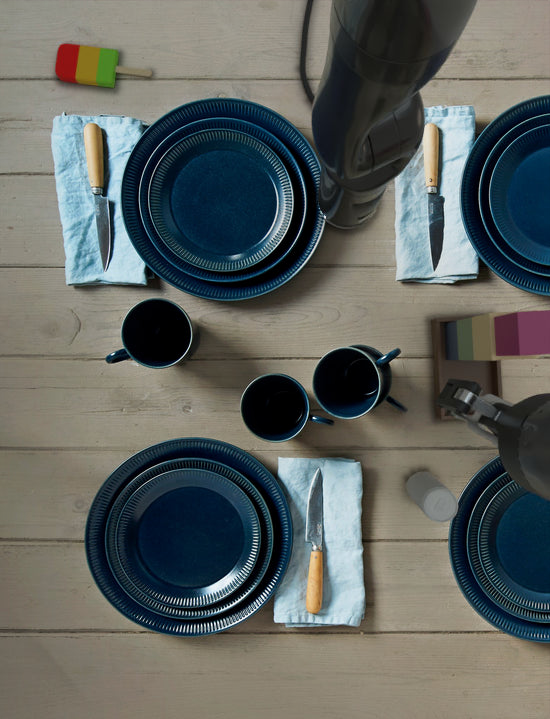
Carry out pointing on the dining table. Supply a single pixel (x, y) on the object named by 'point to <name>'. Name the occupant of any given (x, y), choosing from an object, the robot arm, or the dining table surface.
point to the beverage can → (432, 497)
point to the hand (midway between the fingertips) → (493, 428)
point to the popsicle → (91, 65)
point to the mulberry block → (522, 333)
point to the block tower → (475, 339)
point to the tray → (461, 368)
